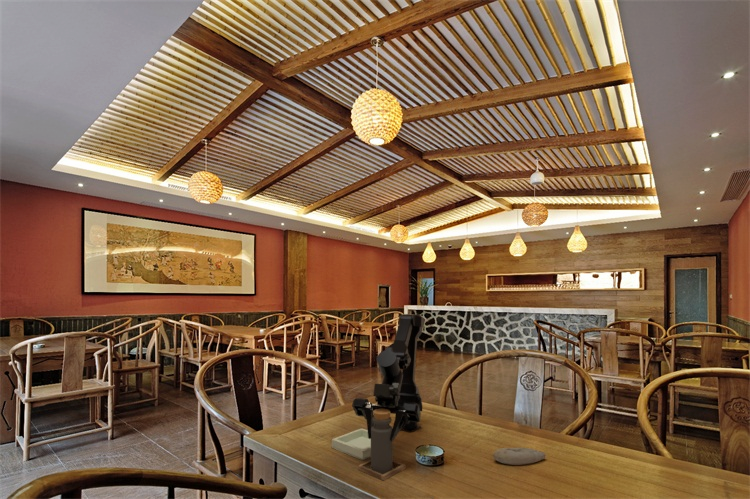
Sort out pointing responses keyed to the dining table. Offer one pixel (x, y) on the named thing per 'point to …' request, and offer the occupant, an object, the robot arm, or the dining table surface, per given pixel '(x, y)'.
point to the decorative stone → (518, 456)
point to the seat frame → (378, 475)
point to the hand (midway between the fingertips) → (380, 439)
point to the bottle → (381, 442)
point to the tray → (354, 444)
